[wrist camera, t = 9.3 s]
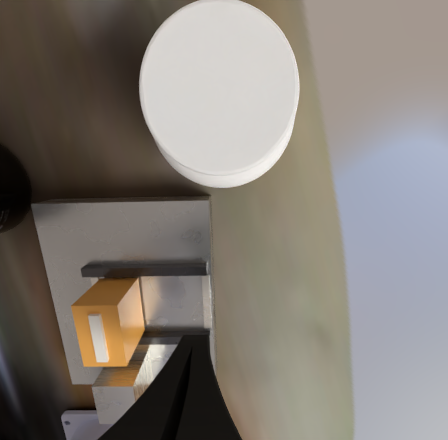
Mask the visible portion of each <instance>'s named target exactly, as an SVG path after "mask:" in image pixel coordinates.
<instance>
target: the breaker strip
mask: <svg viewBox="0 0 448 440" xmlns="http://www.w3.org/2000/svg"><path fill="white" fill-rule="evenodd" d="M31 207H32V212H33V216H34V220H35V225H36V229H37V233H38V237H39V242H40V246H41V250H42V255H43V259H44V263H45V268H46V272H47V276H48V281H49V285H50V289H51V294H52V298H53V302H54V306H55V311H56V315H57V319H58V324H59V328H60V332H61V337H62V341H63V345H64V350H65V354H66V358H67V363H68V367H69V371H70V375H71V380H72V384H93V385H92V391H93V396H94V400H95V405H96V410H97V415H98V420H99V424H115V423H116V422H117V421H118V420H119V419H120V418H121V417H122V416H123V415H124V413H125V412H126V411H127V410H128V409H129V408H130V407H131V406H132V405H133V404H134V403H135V402H136V401H137V399H138V398H139V397H140V396H141V395H142V394H143V392H144V391H145V390H146V389H147V388H148V386H149V385H150V384H151V383H152V381H153V380H154V379H155V377H156V376H157V375H158V373H159V372H160V371H161V369H162V368H163V366H164V365H165V363H166V362H167V360H168V359H169V357H170V356H171V354H172V353H173V351H174V350H175V348H176V346H177V345H178V343H179V341H180V339H181V337H182V336H183V335H209V336H210V354H211V360H212V364H213V368H214V372H215V376H216V373H217V346H216V319H215V292H214V265H213V239H212V212H211V196H170V197H122V198H74V199H52V200H47V201H43V202H38V203H34V204H31ZM100 278H138V280H139V288H140V296H141V304H142V312H143V320H144V328H145V330H144V332H143V334H142V336H141V338H140V340H139V342H138V344H137V347H136V349H135V351H134V353H133V355H132V357H131V359H130V361H129V363H128V365H127V366H115V367H84V365H83V360H82V356H81V351H80V346H79V342H78V337H77V332H76V327H75V323H74V318H73V313H72V309H71V305H72V304H73V303H75V302H76V301H77V300H78V299H79V298H80V297H81V296H82V295H83V294H84V293H85V292H86V291H87V290H89V289H90V288H91V287H92V286H93V285H94V284H95V283H96V282H97V281H98V280H99V279H100Z"/></svg>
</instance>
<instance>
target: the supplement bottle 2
mask: <svg viewBox="0 0 448 440" xmlns="http://www.w3.org/2000/svg"><path fill="white" fill-rule="evenodd" d="M139 95H140V102H141V108H142V111H143V116H144V118H145V121H146V124H147V126H148V128H149V130H150V132H151V134H152V136H153V138H154V140H155V142H156V144H157V146H158V148H159V150H160V152H161V154H162V155H163V156H164V158H165V159H166V160H167V161H168V163H169V164H170V165H171V166H172V167H173V168H174V169H175V170H176V171H178V172H179V173H180V174H182V175H183V176H185V177H186V178H188V179H189V180H191V181H193V182H196V183H198V184H201V185H205V186H209V187H216V188H229V187H235V186H240V185H243V184H246V183H248V182H251V181H253V180H255V179H257V178H258V177H260V176H261V175H263V174H264V173H265V172H266V171H268V170H269V169H270V168H271V167H272V166H273V165H274V164H275V163H276V162H277V160H278V159H279V158H280V156H281V155H282V153H283V152H284V150H285V148H286V146H287V144H288V142H289V139H290V137H291V134H292V130H293V126H294V120H295V114H296V110H297V106H298V99H299V75H298V69H297V64H296V60H295V56H294V53H293V51H292V49H291V46H290V44H289V42H288V40H287V39H286V37H285V35H284V34H283V32H282V31H281V29H280V28H279V27H278V25H277V24H276V23H275V22H274V21H273V20H272V19H271V18H269V17H268V16H267V15H266V14H265V13H263V12H262V11H260V10H259V9H257V8H255V7H254V6H252V5H250V4H247V3H245V2H242V1H239V0H199V1H196V2H193V3H191V4H188V5H186V6H184V7H182V8H181V9H179V10H178V11H176V12H175V13H173V14H172V15H171V16H170V17H169V18H167V19H166V20H165V21H164V22H163V23H162V25H161V26H160V27H159V28H158V29H157V31H156V32H155V34H154V35H153V37H152V39H151V41H150V43H149V45H148V46H147V49H146V52H145V54H144V57H143V60H142V65H141V69H140V79H139Z"/></svg>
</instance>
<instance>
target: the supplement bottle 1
mask: <svg viewBox="0 0 448 440" xmlns="http://www.w3.org/2000/svg"><path fill="white" fill-rule="evenodd" d="M31 198H32V191H31V185H30V181H29V178H28V176H27V173H26V171H25V169H24V168H23V166H22V165H21V163H20V162H19V161H18V159H17V158H16V157H15V156H14V155H13V154H12V153H11V152H10V151H9V150H8V149H6V148H5V147H4V146H2V145H1V144H0V233H3V232H5V231H8V230H10V229H12V228H14V227H15V226H17V225H18V224H19V223H20V222H21V221H22V220H23V219H24V218H25V216H26V215H27V213H28V211H29V208H30V205H31Z"/></svg>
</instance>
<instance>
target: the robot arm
mask: <svg viewBox="0 0 448 440" xmlns="http://www.w3.org/2000/svg"><path fill="white" fill-rule="evenodd" d="M61 420H62V424H63V427H64V431H65V435H66V439H67V440H242V438H241V437H240V435H239V433H238V430H237V428H236V426H235V424H234V422H233V420H232V418H231V416H230V414H229V411H228V409H227V407H226V404H225V402H224V399H223V397H222V394H221V391H220V388H219V385H218V382H217V379H216V376H215V372H214V368H213V364H212V360H211V354H210V336H209V335H183V336H182V337H181V339H180V341H179V343H178V345H177V346H176V348H175V350H174V351H173V353H172V354H171V356H170V357H169V359H168V360H167V362H166V363H165V365H164V366H163V368H162V369H161V371H160V372H159V373H158V375H157V376H156V377H155V379H154V380H153V381H152V383H151V384H150V385H149V386H148V388H147V389H146V390H145V391H144V392H143V394H142V395H141V396H140V397H139V398H138V399H137V401H136V402H135V403H134V404H133V405H132V406H131V407H130V408H129V409H128V410H127V411H126V412H125V413H124V415H123V416H122V417H121V418H120V419H119V420H118V421H117V422H116V423H115V424H99V420H98V415H97V410H67V411H65V412H64V413H63V415H62V416H61Z"/></svg>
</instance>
